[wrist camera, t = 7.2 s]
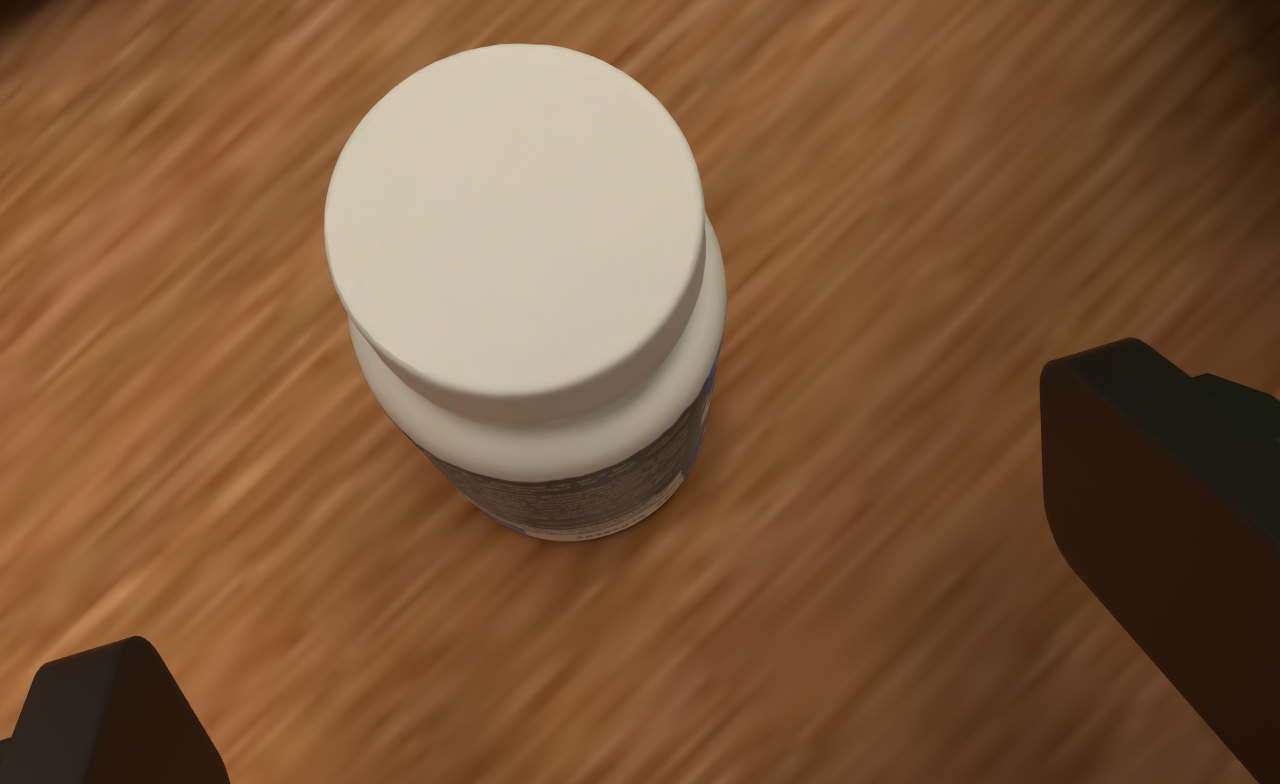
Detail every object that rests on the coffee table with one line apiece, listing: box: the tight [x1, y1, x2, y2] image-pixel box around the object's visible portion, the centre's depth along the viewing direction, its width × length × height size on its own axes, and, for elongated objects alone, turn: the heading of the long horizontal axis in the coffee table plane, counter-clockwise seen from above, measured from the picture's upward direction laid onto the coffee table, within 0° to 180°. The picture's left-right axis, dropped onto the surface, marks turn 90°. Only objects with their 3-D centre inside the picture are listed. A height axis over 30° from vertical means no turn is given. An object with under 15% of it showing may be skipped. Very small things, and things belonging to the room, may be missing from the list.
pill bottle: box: [324, 44, 727, 542], centre depth 16 cm, size 5×5×8 cm
